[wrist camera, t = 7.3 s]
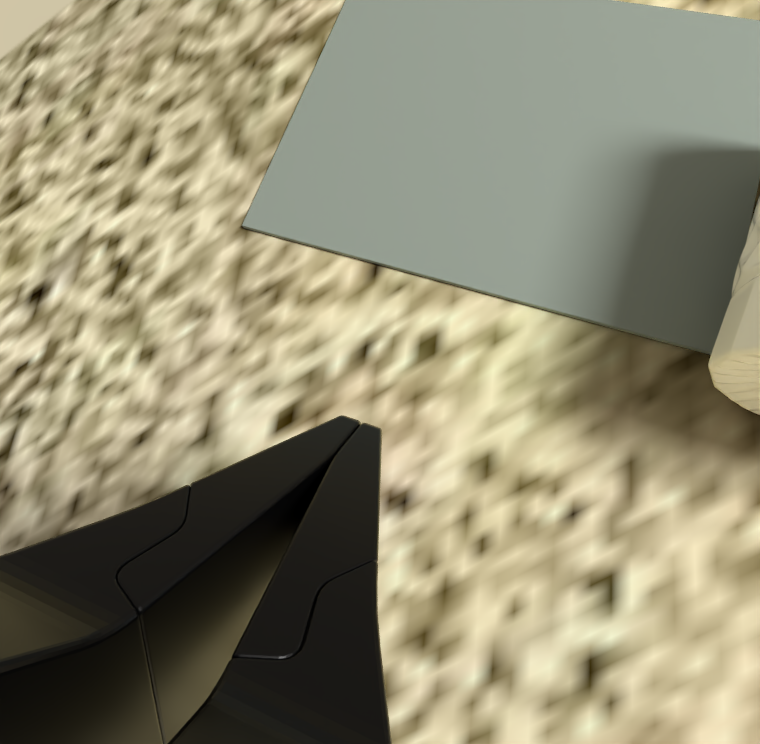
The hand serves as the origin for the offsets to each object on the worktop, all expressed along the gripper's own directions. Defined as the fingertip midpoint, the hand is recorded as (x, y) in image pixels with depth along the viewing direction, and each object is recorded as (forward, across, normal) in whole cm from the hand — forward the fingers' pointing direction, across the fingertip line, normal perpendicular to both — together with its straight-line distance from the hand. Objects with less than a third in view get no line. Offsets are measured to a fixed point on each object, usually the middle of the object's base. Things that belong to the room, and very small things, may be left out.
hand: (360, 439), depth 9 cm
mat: (+15, 0, -5) cm, 16 cm away
